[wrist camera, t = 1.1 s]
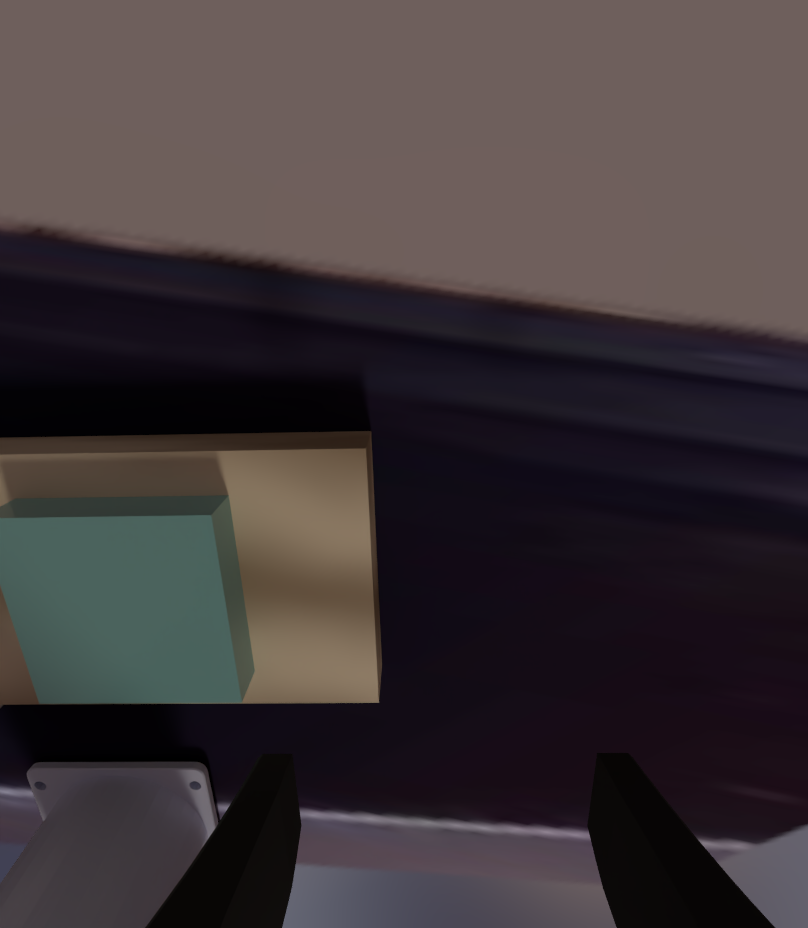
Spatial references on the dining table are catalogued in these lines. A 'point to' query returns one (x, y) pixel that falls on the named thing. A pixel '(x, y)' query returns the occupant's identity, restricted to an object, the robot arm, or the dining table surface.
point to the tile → (127, 598)
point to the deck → (243, 543)
